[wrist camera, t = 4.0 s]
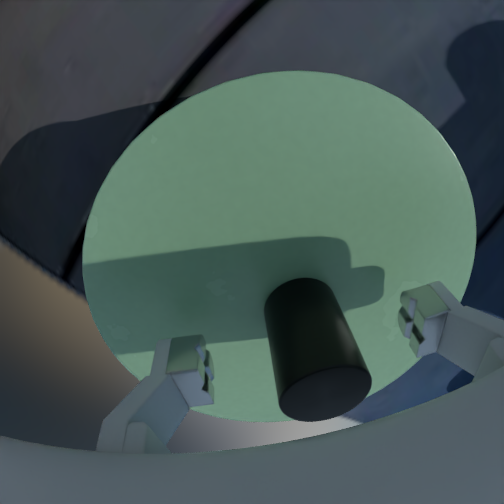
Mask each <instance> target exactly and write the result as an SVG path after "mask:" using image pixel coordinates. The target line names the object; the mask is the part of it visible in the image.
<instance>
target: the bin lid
mask: <svg viewBox="0 0 504 504" xmlns="http://www.w3.org/2000/svg"><path fill="white" fill-rule="evenodd" d="M475 247H476V217H475V210H474V203H473V198H472V194H471V191H470V188H469V184H468V181H467V178H466V175H465V173H464V171H463V169H462V167H461V165H460V163H459V161H458V159H457V157H456V155H455V153H454V152H453V150H452V149H451V148H450V146H449V145H448V143H447V142H446V141H445V139H444V138H443V136H442V135H441V134H440V132H439V131H438V130H437V129H436V128H435V127H434V126H433V125H432V124H431V123H430V122H429V121H428V120H427V119H426V118H425V117H424V116H423V115H422V114H421V113H419V112H418V111H416V110H415V109H414V108H412V107H411V106H410V105H408V104H407V103H405V102H404V101H402V100H401V99H400V98H398V97H397V96H395V95H393V94H391V93H388V92H386V91H384V90H382V89H380V88H378V87H376V86H374V85H372V84H369V83H367V82H363V81H360V80H356V79H353V78H349V77H346V76H342V75H338V74H332V73H324V72H314V71H303V70H295V71H279V72H266V73H260V74H255V75H251V76H247V77H242V78H238V79H234V80H230V81H227V82H224V83H221V84H219V85H216V86H214V87H212V88H209V89H207V90H205V91H202V92H200V93H198V94H195V95H193V96H191V97H189V98H188V99H186V100H184V101H183V102H181V103H180V104H178V105H176V106H175V107H173V108H172V109H170V110H169V111H167V112H166V113H164V114H162V115H161V116H159V117H158V118H157V119H156V120H155V121H154V122H153V123H151V124H150V125H149V126H148V127H147V128H146V129H145V130H144V131H143V132H141V133H140V134H139V135H138V136H137V137H136V138H135V139H134V140H133V141H132V142H131V143H130V144H129V146H128V147H127V148H126V149H125V151H124V152H123V153H122V154H121V156H120V157H119V158H118V160H117V161H116V162H115V163H114V165H113V166H112V167H111V169H110V171H109V173H108V174H107V176H106V178H105V180H104V182H103V184H102V185H101V187H100V189H99V191H98V193H97V195H96V198H95V200H94V203H93V206H92V209H91V212H90V215H89V218H88V221H87V225H86V231H85V237H84V243H83V257H82V268H83V281H84V287H85V293H86V298H87V302H88V305H89V308H90V311H91V314H92V317H93V320H94V322H95V324H96V326H97V328H98V330H99V332H100V334H101V336H102V337H103V339H104V341H105V342H106V344H107V345H108V347H109V348H110V349H111V351H112V352H113V354H114V355H115V357H116V358H117V359H118V360H119V361H120V362H121V363H122V364H123V365H124V366H125V368H126V369H127V370H128V371H129V372H130V373H132V374H133V375H134V376H135V377H136V378H137V379H139V380H140V381H142V380H143V378H144V377H145V376H150V372H151V367H152V362H153V357H154V352H155V348H156V343H157V342H158V340H160V339H169V338H175V337H183V336H191V335H199V334H201V335H203V337H204V339H205V341H206V350H208V351H209V352H210V354H211V356H212V360H213V364H214V379H213V380H212V384H213V387H214V404H212V405H204V406H197V407H189V408H190V409H191V410H194V411H196V412H200V413H203V414H207V415H211V416H214V417H219V418H225V419H230V420H237V421H249V422H279V421H290V420H298V421H305V422H313V421H321V420H327V419H331V418H334V417H337V416H340V415H342V414H344V413H346V412H348V411H350V410H351V409H353V408H355V407H356V406H357V405H359V404H360V403H361V402H362V401H363V400H364V399H365V398H366V397H368V396H370V395H372V394H373V393H375V392H377V391H379V390H380V389H382V388H384V387H385V386H387V385H388V384H390V383H391V382H393V381H394V380H396V379H397V378H398V377H400V376H401V375H402V374H403V373H405V372H406V371H407V370H408V369H410V368H411V367H412V366H413V365H414V364H415V363H416V362H417V361H418V360H419V359H420V358H421V357H419V358H416V356H415V354H414V353H413V351H412V349H411V348H410V346H409V342H410V339H408V338H406V337H404V336H403V334H402V332H401V330H400V327H399V323H398V311H399V310H400V308H401V307H402V306H403V305H402V304H401V302H400V295H401V293H402V291H406V290H409V289H413V288H416V287H420V286H423V285H426V284H429V283H432V282H435V281H440V282H442V283H443V284H444V285H445V287H446V288H447V289H448V290H449V291H450V292H451V293H452V294H453V296H454V297H455V298H456V299H457V300H458V301H459V302H461V300H462V298H463V295H464V293H465V290H466V287H467V285H468V282H469V278H470V275H471V271H472V267H473V263H474V255H475Z"/></svg>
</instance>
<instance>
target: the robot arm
mask: <svg viewBox="0 0 504 504" xmlns="http://www.w3.org/2000/svg"><path fill="white" fill-rule="evenodd" d="M400 302H401V304H402V305H403V306H402V307H401V308H400V310H399V311H398V323H399V327H400V330H401V332H402V334H403V336H404V337H406V338H408V339H410V342H409V346H410V348H411V349H412V351H413V353H414V354H415V356H416V358H419V357H422V356H425V355H428V354H431V353H434V352H437V353H439V354H440V355H442V356H444V357H445V358H447V359H448V360H450V361H451V362H453V363H455V364H456V365H458V366H459V367H461V368H462V369H464V370H466V371H467V372H469V373H470V374H472V375H473V376H474V378H473V380H472V382H471V383H469V384H467V385H465V386H463V387H461V388H459V389H456V390H454V391H452V392H450V393H447V394H445V395H443V396H440V397H438V398H435V399H433V400H431V401H428V402H426V403H423V404H420V405H418V406H415V407H412V408H410V409H407V410H404V411H401V412H398V413H396V414H393V415H390V416H387V417H383V418H380V419H377V420H374V421H371V422H367V423H364V424H360V425H357V426H353V427H350V428H346V429H342V430H338V431H334V432H330V433H326V434H322V435H317V436H313V437H308V438H303V439H298V440H293V441H288V442H282V443H276V444H270V445H264V446H257V447H250V448H242V449H232V450H222V451H213V452H212V451H211V452H198V453H197V452H196V453H173V454H172V453H171V452H170V451H169V449H168V448H167V447H166V444H167V443H168V441H169V440H170V438H171V437H172V435H173V434H174V432H175V431H176V429H177V428H178V426H179V424H180V423H181V422H182V420H183V419H184V417H185V416H186V414H187V412H188V411H189V409H190V408H189V407H197V406H204V405H212V404H214V387H213V384H212V380H213V379H214V364H213V360H212V356H211V354H210V352H209V351H208V350H206V341H205V339H204V337H203V335H201V334H199V335H191V336H183V337H175V338H169V339H160V340H158V342H157V343H156V348H155V352H154V357H153V362H152V367H151V372H150V376H145V377H144V378H143V380H142V381H141V382H140V383H139V384H138V385H137V386H136V387H135V388H134V389H133V390H132V391H131V392H130V393H129V394H128V395H127V396H126V397H125V398H124V399H123V400H122V401H121V402H120V403H119V405H118V406H117V407H116V408H115V409H114V410H113V411H112V412H111V413H110V414H109V415H108V416H107V417H106V418H105V419H104V420H103V422H102V426H101V430H100V434H99V438H98V442H97V447H96V451H86V450H77V449H69V448H60V447H54V446H48V445H41V444H36V443H31V442H25V441H20V440H16V439H11V438H7V437H2V436H0V504H504V320H501V319H499V318H496V317H494V316H491V315H489V314H486V313H484V312H481V311H479V310H476V309H474V308H471V307H469V306H464V307H463V306H462V305H461V304H460V302H459V301H458V300H457V299H456V298H455V297H454V296H453V294H452V293H451V292H450V291H449V290H448V289H447V288H446V287H445V285H444V284H443V283H442V282H440V281H435V282H432V283H429V284H426V285H423V286H420V287H416V288H413V289H409V290H406V291H402V293H401V295H400Z"/></svg>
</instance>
